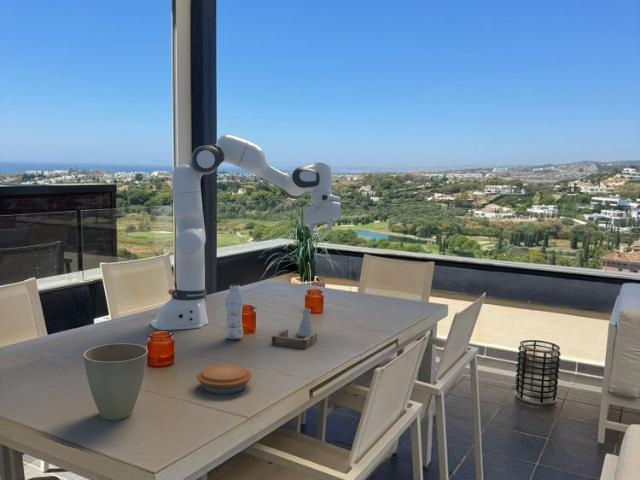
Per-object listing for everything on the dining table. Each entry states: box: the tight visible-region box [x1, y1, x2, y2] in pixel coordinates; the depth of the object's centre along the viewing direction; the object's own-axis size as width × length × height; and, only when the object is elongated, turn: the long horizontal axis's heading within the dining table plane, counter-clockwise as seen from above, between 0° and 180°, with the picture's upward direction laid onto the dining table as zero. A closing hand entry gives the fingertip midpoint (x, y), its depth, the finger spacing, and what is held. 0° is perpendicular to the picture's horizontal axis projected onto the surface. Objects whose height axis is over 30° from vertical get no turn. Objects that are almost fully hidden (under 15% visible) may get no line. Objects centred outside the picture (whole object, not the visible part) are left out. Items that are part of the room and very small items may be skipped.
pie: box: [196, 364, 253, 395], centre depth 164 cm, size 15×16×5 cm
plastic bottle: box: [224, 284, 244, 340], centre depth 213 cm, size 6×7×20 cm
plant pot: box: [83, 342, 149, 421], centre depth 143 cm, size 15×15×16 cm
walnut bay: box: [271, 328, 318, 350], centre depth 211 cm, size 12×13×3 cm
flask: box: [296, 308, 315, 338], centre depth 222 cm, size 7×7×10 cm
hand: (321, 233), depth 236 cm, fingers open, 8 cm apart
